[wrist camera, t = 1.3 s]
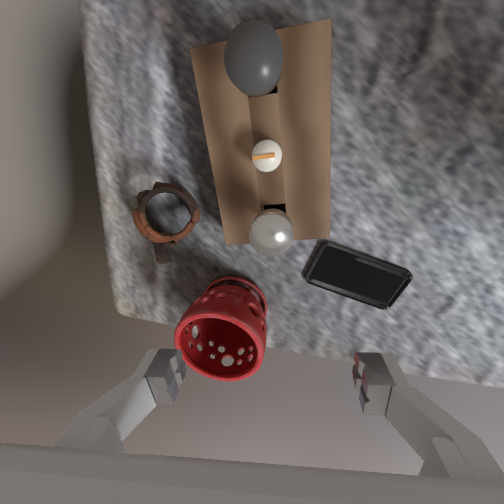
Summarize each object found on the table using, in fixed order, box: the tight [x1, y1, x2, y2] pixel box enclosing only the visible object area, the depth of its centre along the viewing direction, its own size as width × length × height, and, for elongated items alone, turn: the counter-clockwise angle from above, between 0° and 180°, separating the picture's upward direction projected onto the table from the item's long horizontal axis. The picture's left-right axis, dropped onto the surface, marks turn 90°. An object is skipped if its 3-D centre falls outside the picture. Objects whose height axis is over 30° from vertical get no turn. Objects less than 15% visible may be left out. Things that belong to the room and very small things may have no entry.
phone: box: [305, 241, 413, 310], centre depth 39 cm, size 8×1×15 cm
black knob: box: [224, 19, 283, 97], centre depth 22 cm, size 5×5×7 cm
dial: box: [252, 140, 282, 172], centre depth 27 cm, size 3×3×3 cm
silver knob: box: [249, 208, 293, 256], centre depth 28 cm, size 5×5×7 cm
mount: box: [189, 18, 332, 245], centre depth 30 cm, size 14×22×5 cm, turn 8°
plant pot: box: [174, 276, 267, 381], centre depth 39 cm, size 13×13×12 cm
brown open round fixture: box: [132, 182, 200, 264], centre depth 36 cm, size 12×10×8 cm
